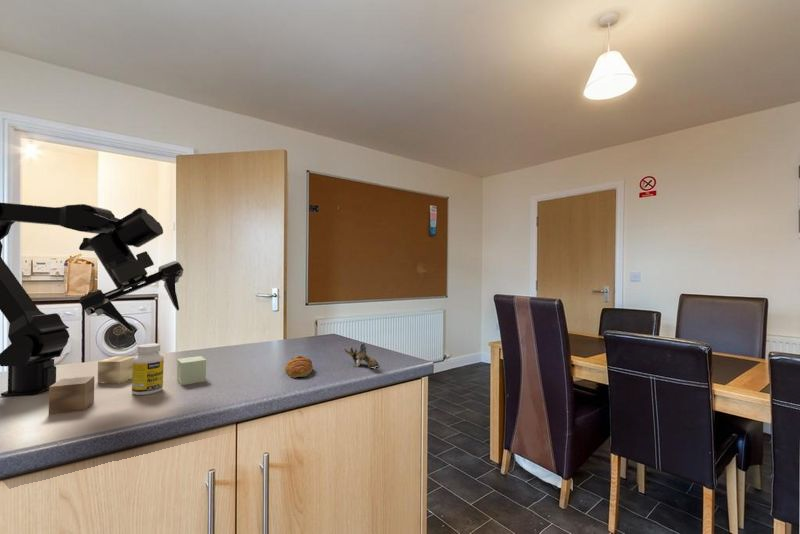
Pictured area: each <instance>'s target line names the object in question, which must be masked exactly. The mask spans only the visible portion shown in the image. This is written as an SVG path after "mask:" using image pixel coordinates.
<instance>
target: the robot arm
mask: <svg viewBox="0 0 800 534" xmlns="http://www.w3.org/2000/svg"><path fill="white" fill-rule="evenodd" d="M15 223H24V224H25V223H27V224H37V225H38V224H39V225H47V226H48V225H49V226H59V227H62V228H65V229H69V230H73V231H76V232H83V233H89V234H95V235H94V236H92V237H83V239H82V242H81V243H80V245H79V247H78V249H79V250H80V251H87V252H94V253H95V255H96V257H97V258H98V260H99V261H100V263H101V264H102V266H103V267H104V270H105V271H106V273H107V274H108V276H109V277H110V279H111V281H112V283H113V284H114V285H115V287H116V288H114V289H112V290H109V291H108V292H103V291H102V289H98V290H95V291H92V292H91V293H87V294H86V295H82V296H81V297H79V300H78V302H79V304H80V306H81V307H82V308H83V311H84V312H85V313H86V315H87V316H91V315H94V314H95V315H96V316H102V315H105V316H106V317H108V318H110V319H112V320H113V321H115V322H117V323H118V324H120V326H122V327H123V328H124V329H126V330H127V331H129V332H130V333H134V330H133V327H132V326H131V325H130V323H129V322H128V321H127V320H126V318H124V317H123V315H122V314H121V313H120V312H119V310H118V309H117V308H116V306H115V305H114V304H113V303H112V301H114V300H117V299H119V298H121V297H123V296H126V295H128V294H130V293H134V292H136V291H138V290H141V289H142V288H146V287H148V286H150V285H152V284H155V283H158V282H160V281H162V282H163V283H164V284H163V286H164V289H165V290H166V292H167V295H168V297H169V300H170V302H171V303H172V305H173V307H174V308H175V310H176V311H179V310H180V305H179V302H178V295H177V290H176V284H177V283H178V282H179V281H180V278H181V277H183V274H184V267H183V266H182V264H181V262H179V261H176V260H173V261H171V262H168V263H165V264H163V265H160V266H158V271H157V272H155V273H152V274H150V275H148V272H147V268H150V267H153V266H154V265H155V264H154V261H153V260H152V257H151V256H150V254H149V252H148V251H146V250H145V251H143V252H140V253H137V254H136V255H134V252H132V250H131V249H130V247H134V248H140V247H142V246H144V245H146V244H147V243H149V242H151V241H153V240H154V239H156V238H158V237H159V236H162V235H163V234H164V230H163V227H162V225H161V223H160V222H159V221H158V220H157V219H156V218H154V217H153V216H152V215H151V214H150V213H149V212H148V211H147V209H145V208H142V207H137V208H136V209H135V210H133V211H132V212H131V213H129V214H128V215H126V216H123V217H122V218H118V217H116V216H115V214H114V212H112V210H109V209H107V208H102V207H97V206H95V205H89V204H84V203H79V204H67V205H64V206H57V207H53V206H42V205H33V204H20V203H9V202H3V201H0V312H1V313H2V314H3V316H4V317H5V318H6V320H7V322H9V323H8V324H9V325H8V326H9V327H8V332H7V333H8V334H7V337H8V339H9V342H10V344H9V345H8V346H7V347H5V349H4V350H3V351H2V352H0V367H7V391H3V392H1V393H0V396H1V397H4V396H5V397H6V396H25V395H26V396H27V395H28V396H29V395H38V394H40V393H43V392H45V391H49V387H50V386H51V385H53V384H54V383H56V382H57V366H56V365H55V358H60V357H61V355H62V353H63V351H64V349H65V347H66V345H67V344H68V342H69V339H70V333H69V331H68V329H69V328H70V327H69V326H68V325H66V324H65V323H64V321H63V320H62V318H61V316H60V315H59V314H58V313H56V312H55V313H47V314H46V313H44V312H42V311H41V310H40V309H39V308H38V306H37V305H36V304H35V302H34V300H33V299H32V298H31V296H30V295H29V294H28V293H27V290H25V288H24V287H23V286H22V285H21V283H20V281H19V280H18V279H17V277H16V276H15V274H14V273H13V271H12V270H11V269H10V267H8V265H7V264H6V262H5V261H4V259H3V258H2V253H3V243H2V240H3V239H4V238H5V237H7V236H8V234H10V231H11V227H12V225H13V224H15ZM147 275H148V276H147Z"/></svg>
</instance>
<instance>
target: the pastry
mask: <svg viewBox="0 0 800 534" xmlns="http://www.w3.org/2000/svg"><path fill="white" fill-rule="evenodd" d="M313 369H314V366H313V362H312V360H311V359H310V358H307V356H303V355H297V356H294V357H291V358H290V359H289V360H288V361H287V363H286V364H285V367H284V371H285V373H286V374H287V375H288V377H290V378H293V379H295V378H298V377H301V378H302V377H306V376H307V377H308V376H309V375H310V373H311V374H312V370H313Z"/></svg>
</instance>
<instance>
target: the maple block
mask: <svg viewBox="0 0 800 534" xmlns="http://www.w3.org/2000/svg"><path fill="white" fill-rule="evenodd" d="M135 357H136V356H124V355H122V356H119V355H118V356H117V355H116V356H112V357H108V358H105V359H102V360H99V361H97V383H98V382H100V383H99V384H102V383H101V382H104V383H103V384H121V383H120V382H122V383H124V382H123V381H125V382H126V380H127V381H129V380H128V379H130V380H132V379H131V378H132V371H133V359H134V358H135ZM105 382H106V383H105Z"/></svg>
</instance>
